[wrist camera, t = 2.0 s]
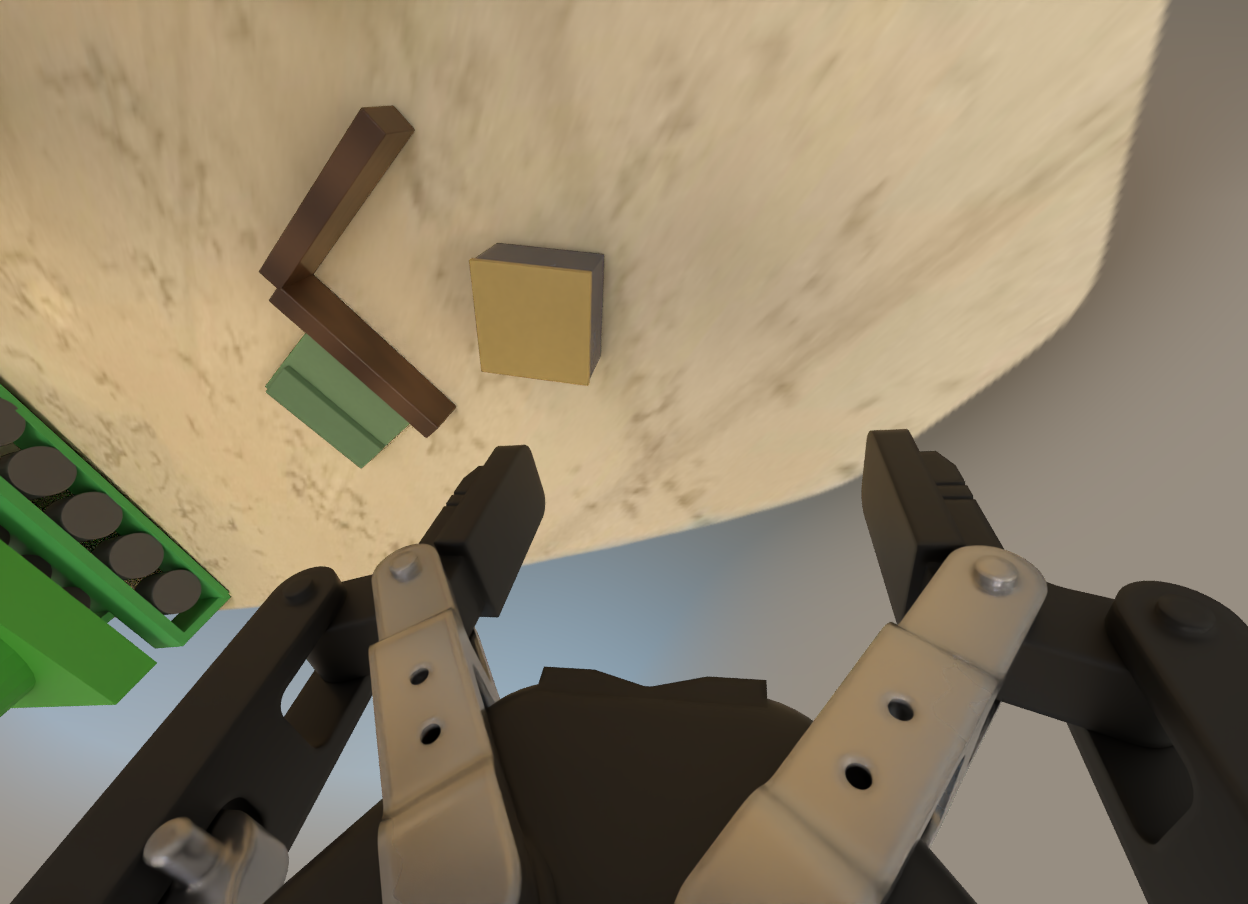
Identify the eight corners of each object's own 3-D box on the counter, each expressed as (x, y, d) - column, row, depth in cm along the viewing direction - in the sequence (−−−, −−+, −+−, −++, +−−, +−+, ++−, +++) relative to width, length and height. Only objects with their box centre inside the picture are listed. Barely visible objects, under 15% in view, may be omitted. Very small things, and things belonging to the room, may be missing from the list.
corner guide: (335, 400, 40) (309, 421, 37) (242, 93, 29) (196, 94, 26) (458, 418, 39) (440, 440, 36) (411, 106, 28) (381, 109, 25)
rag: (272, 381, 40) (258, 390, 39) (313, 328, 37) (299, 335, 35) (368, 460, 43) (359, 470, 42) (415, 417, 40) (406, 427, 38)
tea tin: (504, 345, 35) (481, 371, 32) (495, 241, 31) (468, 259, 28) (601, 357, 34) (588, 386, 31) (605, 252, 30) (590, 273, 27)
